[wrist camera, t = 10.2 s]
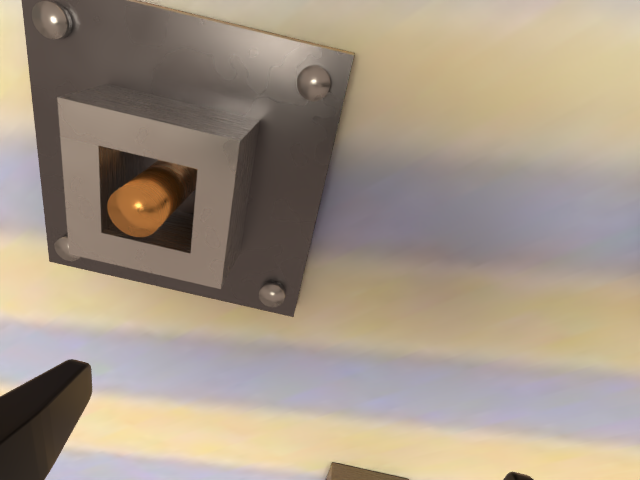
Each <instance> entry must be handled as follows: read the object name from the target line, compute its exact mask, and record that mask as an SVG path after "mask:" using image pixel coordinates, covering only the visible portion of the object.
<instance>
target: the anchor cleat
mask: <svg viewBox="0 0 640 480" xmlns="http://www.w3.org/2000/svg"><path fill="white" fill-rule="evenodd" d="M326 480H409V479H405V478H400V477H396V476H391V475H387V474H382V473H378V472H373V471H369V470H364V469H360V468H355V467H350V466H346V465H341V464H337V463H332V464H331V467H330V470H329V473H328V475H327V478H326Z"/></svg>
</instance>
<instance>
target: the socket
mask: <svg viewBox="0 0 640 480" xmlns="http://www.w3.org/2000/svg"><path fill="white" fill-rule="evenodd" d="M57 100H58V114H59V127H60V140H61V153H62V166H63V179H64V193H65V206H66V219H67V232H68V245H69V254H71V255H75V256H79V257H84V258H88V259H92V260H97V261H101V262H105V263H110V264H114V265H118V266H123V267H127V268H131V269H136V270H140V271H144V272H149V273H153V274H157V275H162V276H166V277H170V278H175V279H179V280H183V281H188V282H192V283H196V284H201V285H205V286H209V287H214V288H218V289H221V288H222V286H223V284H224V282H225V280H226V278H227V276H228V274H229V272H230V270H231V269H232V267H233V265H234V263H235V261H236V259H237V257H238V255H239V253H240V250H241V243H242V236H243V229H244V223H245V216H246V209H247V202H248V195H249V189H250V182H251V175H252V168H253V162H254V155H255V148H256V141H257V134H258V128H259V120H255V119H251V118H247V117H242V116H238V115H234V114H230V113H226V112H222V111H218V110H213V109H209V108H205V107H201V106H197V105H193V104H188V103H184V102H180V101H176V100H172V99H168V98H164V97H159V96H155V95H151V94H147V93H143V92H139V91H134V90H130V89H126V88H122V87H118V86H114V85H110V84H104V85H100V86H96V87H93V88H89V89H85V90H82V91H78V92H75V93H71V94H67V95H64V96H60V97H57ZM139 155H140V156H145V157H149V158H153V159H157V160H161V161H166V162H170V163H174V164H178V165H183V166H187V167H191V168H195V169H198V170H197V182H196V194H195V206H194V215H192V214H188V213H184V212H180V211H174V212H173V213H172V214H171V215H170V216H169V217H168V218H167V220H166V221H165V222H164V223H163V224H162V225H161V226H160V227H159V228H158V229H157V230H156V231H155V232H154V233H153V234H151V235H149V236H146V237H134V236H130V235H128V234H126V233H124V232H122V231H121V230H120V229H118V228H117V227H116V226H115V225H114V223H113V222H112V220H111V219H110V217H109V214H108V209H107V204H108V200H109V198H110V196H111V195H112V194H113V193H114V192H115V191H117V190H118V189H119V188H121V187H122V186H123V185H125V184H126V183H128V182H129V181H130V180H132V179H133V178H135V177H136V176H137V175H139Z"/></svg>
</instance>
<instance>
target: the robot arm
mask: <svg viewBox="0 0 640 480" xmlns="http://www.w3.org/2000/svg"><path fill="white" fill-rule="evenodd" d="M91 394H92V374H91V366H90V365H89V364H88V363H86V362H82V361H78V360H73V359H71V360H67V361H65V362H63V363H61V364H59V365H58V366H56V367H54V368H52V369H50V370H48V371H46V372H45V373H43V374H41V375H39V376H37V377H35V378H34V379H32V380H30V381H28V382H26V383H24V384H23V385H21V386H19V387H17V388H15V389H13V390H11V391H10V392H8V393H6V394H4V395H2V396H0V480H45V478H46V476H47V475H48V473H49V472H50V470H51V468H52V467H53V465H54V463H55V461H56V460H57V458H58V456H59V454H60V453H61V451H62V449H63V447H64V445H65V443H66V442H67V440H68V438H69V436H70V434H71V433H72V431H73V429H74V427H75V425H76V424H77V422H78V420H79V418H80V416H81V415H82V413H83V411H84V409H85V407H86V406H87V404H88V402H89V400H90V397H91ZM503 480H533V479H532V478H531V477H530V476H527V475H524V474H520V473H516V472H510V473H508V474H507V475H506V477H505V478H504V479H503Z"/></svg>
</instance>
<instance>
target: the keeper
mask: <svg viewBox="0 0 640 480" xmlns="http://www.w3.org/2000/svg"><path fill="white" fill-rule="evenodd" d="M22 8H23V17H24V27H25V36H26V45H27V55H28V64H29V74H30V83H31V92H32V102H33V111H34V120H35V130H36V139H37V149H38V158H39V167H40V177H41V186H42V196H43V205H44V214H45V224H46V233H47V242H48V252H49V261H50V262H54V263H58V264H63V265H67V266H72V267H76V268H80V269H85V270H89V271H94V272H98V273H102V274H107V275H111V276H116V277H120V278H124V279H129V280H133V281H138V282H142V283H146V284H151V285H155V286H160V287H164V288H168V289H173V290H177V291H182V292H186V293H190V294H195V295H199V296H204V297H208V298H212V299H217V300H221V301H226V302H230V303H234V304H239V305H243V306H248V307H252V308H256V309H261V310H265V311H270V312H274V313H278V314H283V315H287V316H292V317H293V316H294V312H295V308H296V304H297V299H298V295H299V291H300V286H301V282H302V278H303V274H304V269H305V265H306V261H307V256H308V252H309V248H310V243H311V239H312V235H313V231H314V226H315V222H316V218H317V213H318V209H319V205H320V200H321V196H322V192H323V188H324V183H325V179H326V175H327V170H328V166H329V162H330V158H331V153H332V149H333V145H334V140H335V136H336V132H337V127H338V123H339V119H340V115H341V110H342V106H343V102H344V97H345V93H346V89H347V85H348V80H349V76H350V72H351V67H352V63H353V59H354V54H355V53H352V52H348V51H344V50H340V49H336V48H332V47H328V46H323V45H319V44H315V43H311V42H307V41H303V40H299V39H295V38H290V37H286V36H282V35H278V34H274V33H270V32H266V31H261V30H257V29H253V28H249V27H245V26H241V25H237V24H232V23H228V22H224V21H220V20H216V19H212V18H208V17H204V16H199V15H195V14H191V13H187V12H183V11H179V10H175V9H170V8H166V7H162V6H158V5H154V4H150V3H146V2H142V1H137V0H22ZM104 84H110V85H114V86H118V87H122V88H126V89H130V90H134V91H139V92H143V93H147V94H151V95H155V96H159V97H164V98H168V99H172V100H176V101H180V102H184V103H188V104H193V105H197V106H201V107H205V108H209V109H213V110H218V111H222V112H226V113H230V114H234V115H238V116H242V117H247V118H251V119H255V120H259V128H258V134H257V141H256V148H255V155H254V162H253V168H252V175H251V182H250V189H249V195H248V202H247V209H246V216H245V223H244V229H243V236H242V243H241V250H240V253H239V255H238V257H237V259H236V261H235V263H234V265H233V267H232V269H231V270H230V272H229V274H228V276H227V278H226V280H225V282H224V284H223V286H222V288H221V289H218V288H214V287H209V286H205V285H201V284H196V283H192V282H188V281H183V280H179V279H175V278H170V277H166V276H162V275H157V274H153V273H149V272H144V271H140V270H136V269H131V268H127V267H123V266H118V265H114V264H110V263H105V262H101V261H97V260H92V259H88V258H84V257H79V256H75V255H71V254H69V245H68V232H67V219H66V206H65V193H64V179H63V166H62V153H61V140H60V127H59V114H58V100H57V97H60V96H64V95H67V94H71V93H75V92H78V91H82V90H85V89H89V88H93V87H96V86H100V85H104ZM197 170H198V169H195V168H191V167H187V166H183V165H178V164H174V163H170V162H166V161H161V160H157V159H153V158H149V157H145V156H140V155H139V175H137V176H136V177H135V178H133V179H132V180H130V181H129V182H128V183H126V184H125V185H123V186H122V187H121V188H119V189H118V190H117V191H115V192H114V193H113V194H112V195H111V196H110V198H109V200H108V204H107V209H108V214H109V217H110V219H111V220H112V222H113V223H114V225H115V226H116V227H117V228H118V229H120V230H121V231H122V232H124V233H126V234H128V235H130V236H134V237H146V236H149V235H151V234H153V233H154V232H155V231H156V230H157V229H158V228H159V227H160V226H161V225H162V224H163V223H164V222H165V221H166V220H167V218H168V217H169V216H170V215H171V214H172V213H173V212H174V211H180V212H184V213H188V214H192V215H194V206H195V194H196V182H197Z"/></svg>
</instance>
